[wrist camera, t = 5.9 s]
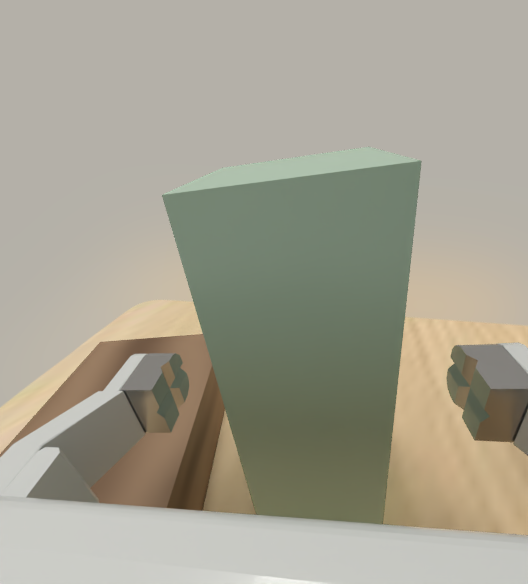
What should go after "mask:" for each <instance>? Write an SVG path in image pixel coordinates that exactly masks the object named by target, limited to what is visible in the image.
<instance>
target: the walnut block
mask: <svg viewBox="0 0 528 584" xmlns="http://www.w3.org/2000/svg"><path fill="white" fill-rule="evenodd" d="M149 353H176V354H179V355H180V357H181V359H182V362H183V363H182V365H181V367H180V368H181V369H182V370H184V371H185V372H186V373H187V376H188V379H189V391H188V396H187V398H186V400H185V402H184V403H183V404H182V405H181V406H179V407H178V411H179V416H178V418H177V421H176V423H175V425H174V427H173V430H172V432H171V433H145V435H144V436H143V437H142V438H141V439H140V440H139V441H138V442H137V443H136V444H135V445H134V446H133V447H132V448H131V449H130V450H129V451H128V452H127V453H126V454H125V455H124V456H123V457H122V458H121V459H120V460H119V461H118V462H117V463H116V464H115V465H113V466H112V467H111V468H110V469H109V470H108V471H107V472H106V473H105V474H104V475H103V476H102V477H101V478H100V479H99V480H98V481H97V482H96V483H95V484H94V485H93V486H92V487H91V488H90V489H91V490H92V491H93V492H94V494H95V495H96V496H97V498H98V499H99V503H106V504H119V505H133V506H146V507H159V508H173V509H186V510H199V511H202V510H203V505H204V501H205V496H206V492H207V487H208V483H209V478H210V474H211V469H212V465H213V460H214V456H215V451H216V447H217V442H218V438H219V433H220V429H221V424H222V420H223V415H224V411H225V407H224V403H223V400H222V396H221V393H220V390H219V386H218V383H217V380H216V376H215V373H214V369H213V366H212V363H211V359H210V356H209V352H208V349H207V346H206V342H205V339H204V336H203V334H199V335H186V336H173V337H160V338H147V339H134V340H121V341H108V342H100V343H99V344H98V345H97V346H96V347H95V349H94V350H93V351H92V352H91V353H90V354H89V355H88V356H87V358H86V359H85V360H84V361H83V362H82V363H81V364H80V365H79V366H78V368H77V369H76V370H75V371H74V372H73V373H72V374H71V375H70V377H69V378H68V379H67V380H66V381H65V382H64V383H63V384H62V386H61V387H60V388H59V389H58V390H57V391H56V392H55V393H54V394H53V396H52V397H51V398H50V399H49V400H48V401H47V402H46V403H45V405H44V406H43V407H42V408H41V409H40V410H39V411H38V412H37V414H36V415H35V416H34V417H33V418H32V419H31V420H30V421H29V422H28V424H27V425H26V426H25V427H24V428H23V429H22V430H21V431H20V433H19V434H18V435H17V436H16V437H15V438H14V439H13V440H12V442H11V443H10V444H9V445H8V446H7V447H6V448H5V449H4V450H3V452H2V453H1V454H0V457H1V456H2V455H3V454H4V453H5V452H6V451H7V450H8V449H9V448H10V447H11V446H12V445H13V444H14V443H16V442H17V441H19V440H20V439H22V438H24V437H25V436H27V435H29V434H30V433H32V432H33V431H35V430H37V429H38V428H40V427H41V426H43V425H45V424H46V423H48V422H50V421H51V420H53V419H54V418H56V417H58V416H59V415H61V414H62V413H64V412H66V411H67V410H69V409H71V408H72V407H74V406H75V405H77V404H79V403H80V402H82V401H83V400H85V399H87V398H88V397H90V396H92V395H93V394H95V393H96V392H98V391H103V390H104V389H105V388H106V387H107V385H108V384H109V383H110V382H111V380H112V379H113V378H114V376H115V375H116V374H117V373H118V371H119V370H120V369H121V368H122V366H123V365H124V364H125V362H126V361H127V360H128V359H129V357H130V356H132V355H134V354H149Z"/></svg>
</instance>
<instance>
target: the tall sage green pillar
mask: <svg viewBox="0 0 528 584" xmlns="http://www.w3.org/2000/svg"><path fill="white" fill-rule="evenodd" d="M420 170H421V161H420V160H417V159H413V158H409V157H405V156H401V155H398V154H394V153H390V152H386V151H382V150H379V149H375V148H371V147H364V148H358V149H350V150H344V151H337V152H330V153H323V154H316V155H309V156H302V157H295V158H288V159H281V160H275V161H267V162H261V163H253V164H246V165H240V166H233V167H226V168H221V169H219V170H217V171H215V172H212V173H210V174H208V175H205V176H203V177H201V178H199V179H197V180H195V181H192V182H190V183H188V184H186V185H183V186H181V187H179V188H176V189H174V190H172V191H170V192H167V193H165V194H163V195H162V197H163V200H164V204H165V207H166V210H167V214H168V217H169V221H170V224H171V227H172V231H173V234H174V237H175V241H176V244H177V248H178V251H179V254H180V258H181V261H182V265H183V268H184V271H185V274H186V278H187V281H188V285H189V288H190V291H191V295H192V298H193V302H194V305H195V309H196V312H197V315H198V319H199V322H200V325H201V329H202V332H203V336H204V339H205V342H206V346H207V349H208V352H209V356H210V359H211V363H212V366H213V369H214V373H215V376H216V380H217V383H218V386H219V390H220V393H221V396H222V400H223V403H224V407H225V410H226V413H227V417H228V420H229V424H230V427H231V430H232V434H233V437H234V440H235V444H236V447H237V451H238V454H239V457H240V461H241V464H242V467H243V471H244V474H245V478H246V481H247V484H248V488H249V491H250V495H251V498H252V501H253V505H254V508H255V511H256V515H266V516H280V517H293V518H306V519H320V520H333V521H346V522H359V523H373V524H383V516H384V507H385V498H386V488H387V479H388V469H389V460H390V451H391V441H392V432H393V423H394V413H395V404H396V395H397V385H398V376H399V367H400V357H401V348H402V338H403V329H404V320H405V310H406V301H407V291H408V282H409V273H410V263H411V253H412V245H413V236H414V226H415V216H416V207H417V198H418V189H419V179H420Z"/></svg>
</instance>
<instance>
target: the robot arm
mask: <svg viewBox="0 0 528 584" xmlns="http://www.w3.org/2000/svg"><path fill="white" fill-rule="evenodd" d="M451 358H452V360H453V361H454V363H455V364H453V365H452V366H451V367H450V368H449V369H448V373H447V386H448V390H449V393H450V396H451V398H452V400H453V402H454V403H455V404H456V405H458V406H459V407H460V408H462V409H463V410H464V412H463V416H462V418H463V420H464V422H465V424H466V425H467V427H468V429H469V431H470V433H471V435H472V436H473V438H474V440H478V441H498V442H514V443H513V444H514V445H515V446H516V447H518V448H519V449H520V450H521V451H523V452H524V453H525V454H526V455H528V348H527V347H526V346H525V345H523V344H521V343H501V344H485V345H456V346H454V348H453V349H452V353H451ZM182 363H183V362H182V359H181V357H180V355H179V354H176V353H149V354H134V355H132V356H130V357H129V359H128V360H127V361H126V362H125V364H124V365H123V366H122V368H121V369H120V370H119V371H118V373H117V374H116V375H115V376H114V378H113V379H112V380H111V382H110V383H109V384H108V385H107V387H106V388H105V389H104V390H103V391H98V392H96V393H95V394H93V395H92V396H90V397H88V398H87V399H85V400H83V401H82V402H80V403H79V404H77V405H75V406H74V407H72V408H71V409H69V410H67V411H66V412H64V413H62V414H61V415H59V416H58V417H56V418H54V419H53V420H51V421H50V422H48V423H46V424H45V425H43V426H41V427H40V428H38V429H37V430H35V431H33V432H32V433H30V434H29V435H27V436H25V437H24V438H22V439H20V440H19V441H17V442H16V443H14V444H13V445H12V446H11V447H10V448H9V449H8V450H7V451H6V452H5V453H4V454H3V455H2V456H1V457H0V584H528V535H517V534H504V533H491V532H478V531H465V530H451V529H438V528H425V527H412V526H399V525H386V524H373V523H359V522H346V521H333V520H320V519H306V518H293V517H280V516H266V515H253V514H239V513H226V512H213V511H199V510H186V509H173V508H159V507H146V506H133V505H119V504H106V503H99V499H98V498H97V496H96V495H95V494H94V492H93V491H92V490H91V489H90V488H91V487H92V486H93V485H94V484H95V483H96V482H97V481H98V480H99V479H100V478H101V477H102V476H103V475H104V474H105V473H106V472H107V471H108V470H109V469H110V468H111V467H112V466H113V465H115V464H116V463H117V462H118V461H119V460H120V459H121V458H122V457H123V456H124V455H125V454H126V453H127V452H128V451H129V450H130V449H131V448H132V447H133V446H134V445H135V444H136V443H137V442H138V441H139V440H140V439H141V438H142V437H143V436H144V435H145V433H171V432H172V430H173V427H174V425H175V423H176V421H177V418H178V416H179V411H178V407H179V406H181V405H182V404H183V403H184V402H185V400H186V398H187V396H188V391H189V379H188V376H187V373H186V372H185V371H184V370H182V369H181V368H180V367H181V365H182Z"/></svg>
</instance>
